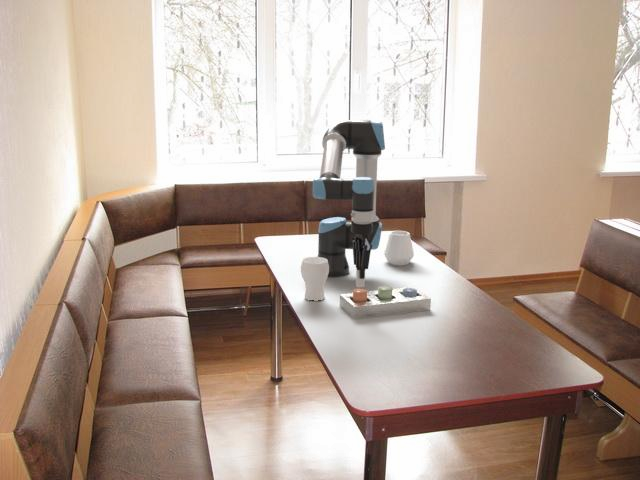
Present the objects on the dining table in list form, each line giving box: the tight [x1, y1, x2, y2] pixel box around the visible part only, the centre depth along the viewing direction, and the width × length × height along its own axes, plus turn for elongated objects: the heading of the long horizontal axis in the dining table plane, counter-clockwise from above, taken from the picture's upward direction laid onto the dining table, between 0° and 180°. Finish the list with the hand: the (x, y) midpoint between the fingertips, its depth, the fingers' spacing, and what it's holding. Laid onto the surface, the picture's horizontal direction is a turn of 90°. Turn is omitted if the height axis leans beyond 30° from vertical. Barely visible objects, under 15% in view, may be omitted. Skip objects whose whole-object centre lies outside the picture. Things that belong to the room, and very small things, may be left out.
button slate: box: [403, 287, 418, 297], centre depth 246 cm, size 5×5×5 cm
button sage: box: [377, 285, 394, 300], centre depth 242 cm, size 5×5×5 cm
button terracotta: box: [352, 288, 368, 303], centre depth 239 cm, size 5×5×5 cm
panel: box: [339, 286, 432, 320], centre depth 243 cm, size 14×30×4 cm, turn 109°
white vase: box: [383, 230, 415, 266], centre depth 300 cm, size 13×13×14 cm
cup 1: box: [300, 256, 329, 302], centre depth 251 cm, size 11×11×15 cm
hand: (360, 286), depth 238 cm, fingers closed
